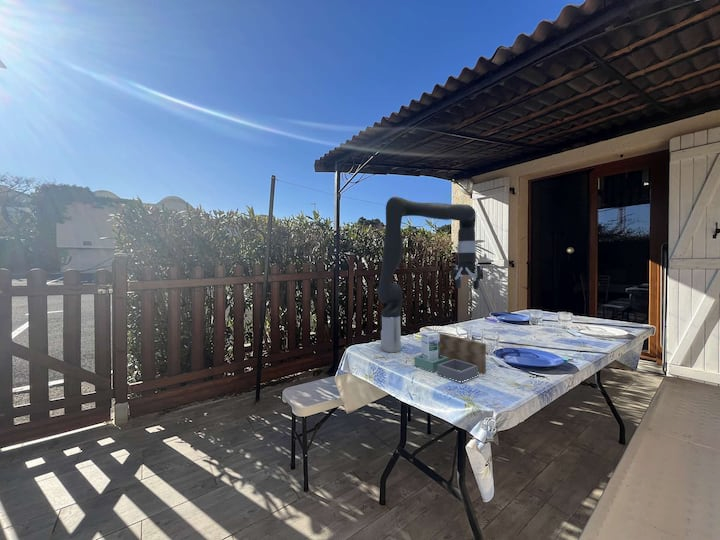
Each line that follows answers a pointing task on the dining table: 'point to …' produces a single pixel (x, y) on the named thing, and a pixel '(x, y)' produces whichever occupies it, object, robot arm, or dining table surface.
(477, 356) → the back panel
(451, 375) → the box
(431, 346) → the syrup box
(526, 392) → the dining table surface
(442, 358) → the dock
